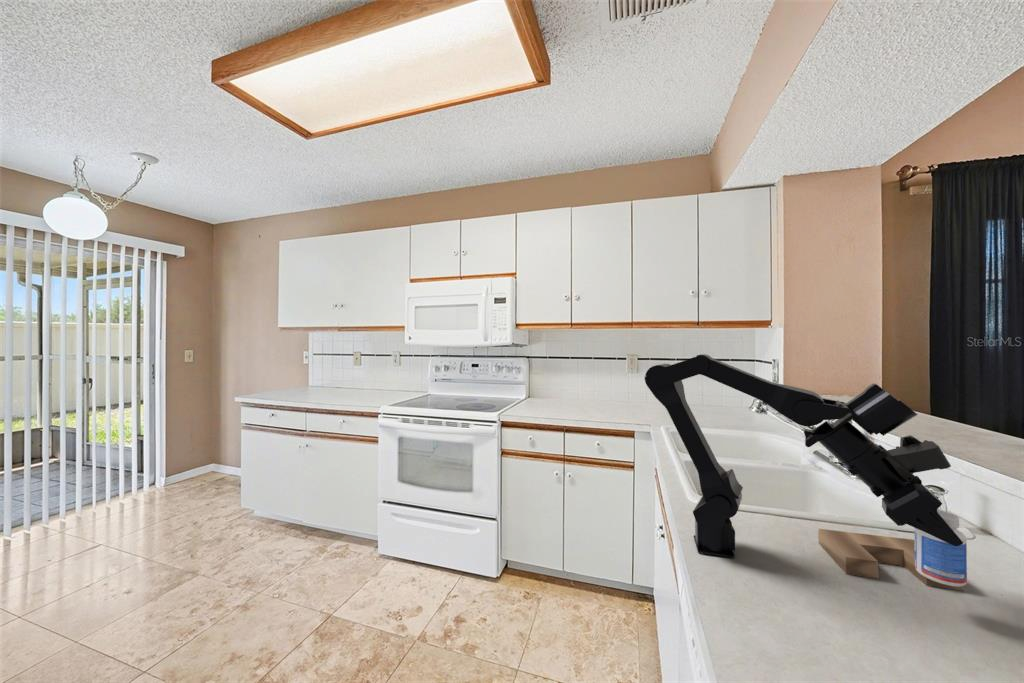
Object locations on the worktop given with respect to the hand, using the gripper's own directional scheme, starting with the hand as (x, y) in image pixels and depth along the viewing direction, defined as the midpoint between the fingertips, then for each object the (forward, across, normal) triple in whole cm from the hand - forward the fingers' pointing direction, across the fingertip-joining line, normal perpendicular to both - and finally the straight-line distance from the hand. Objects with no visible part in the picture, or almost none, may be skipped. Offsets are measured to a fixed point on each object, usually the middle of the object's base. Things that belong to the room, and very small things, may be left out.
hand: (953, 536), depth 59 cm
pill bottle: (+4, 0, +6) cm, 7 cm away
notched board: (+4, +12, +13) cm, 18 cm away
